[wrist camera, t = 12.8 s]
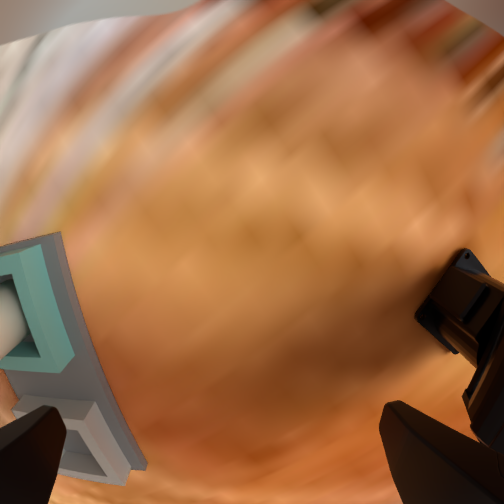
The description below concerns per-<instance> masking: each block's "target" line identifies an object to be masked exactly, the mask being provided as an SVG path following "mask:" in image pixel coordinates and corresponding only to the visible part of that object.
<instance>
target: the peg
mask: <svg viewBox="0 0 504 504" xmlns="http://www.w3.org/2000/svg"><path fill="white" fill-rule="evenodd" d="M29 334H31V331H30V329H29V326H28V323H27V320H26V318H25V315H24V312H23V309H22V306H21V303H20V300H19V296H18V293H17V290H16V287H15V283H14V280H13V279H8V280H6V281H4V282H2V283H0V360H1V359H2V358H3V357H5V356H6V355H7V354H8V353H9V352H10V351H11V350H12V349H13V348H15V347H16V346H17V345H18V344H19V343H20V342H21V341H23V340H24V339H25V338H26V337H27V336H28V335H29Z"/></svg>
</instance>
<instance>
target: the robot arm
mask: <svg viewBox="0 0 504 504" xmlns="http://www.w3.org/2000/svg"><path fill="white" fill-rule="evenodd" d="M466 253H467V256H466V257H465V254H466ZM422 314H423V316H422V317H421V318H420V316H421V315H422ZM415 319H416V321H417V322H418V323H420V324H421V325H422V326H423V327H424V328H425V329H426V330H428V331H429V332H430V333H431V334H432V335H433V336H434V337H435V338H437V339H438V340H439V341H440V342H441V343H442V344H443V345H444V346H445V347H447V348H448V349H449V350H450V351H451V352H452V353H453V354H458V353H460V354H462V355H463V356H464V357H465V358H466V359H467V360H468V361H469V362H470V363H471V364H472V365H473V366H474V367H475V368H476V371H475V373H474V375H473V377H472V380H471V382H470V384H469V386H468V388H467V389H465V391H464V393H463V395H462V398H463V401H464V404H465V406H466V409H467V412H468V415H469V418H470V421H471V424H470V428H471V430H472V432H473V433H474V434H475V436H476V437H477V439H478V441H479V442H480V443H479V442H477V441H475V440H473V439H471V438H469V437H467V436H465V435H463V434H461V433H459V432H458V431H456V430H454V429H452V428H450V427H448V426H446V425H444V424H442V423H441V422H439V421H437V420H435V419H433V418H431V417H430V416H428V415H426V414H424V413H422V412H420V411H419V410H417V409H415V408H413V407H411V406H410V405H408V404H406V403H404V402H402V401H400V400H397V401H392V402H388V403H386V404H385V406H384V408H383V412H382V416H381V420H380V423H379V432H380V435H381V439H382V442H383V446H384V449H385V453H386V457H387V460H388V464H389V468H390V471H391V475H392V477H393V480H394V483H395V485H396V487H397V490H398V492H399V495H400V497H401V500H402V502H403V504H504V284H503V283H501V282H499V281H498V280H496V279H494V278H492V277H491V276H490V275H489V274H488V272H487V271H486V270H485V268H484V267H483V266H482V264H481V263H480V262H479V260H478V259H477V258H476V256H475V255H474V254H473V253H472V251H471V250H469V249H467V248H464V249H462V250H461V251H460V253H459V254H458V256H457V257H456V259H455V260H454V262H453V263H452V265H451V266H450V267H449V269H448V270H447V272H446V273H445V275H444V276H443V277H442V279H441V280H440V281H439V283H438V284H437V285H436V287H435V288H434V289H433V291H432V292H431V293H430V295H429V296H428V297H427V299H426V300H425V301H424V303H423V304H422V305H421V306H420V308H419V309H418V310H417V311H416V313H415ZM66 435H67V429H66V426H65V424H64V421H63V419H62V417H61V415H60V413H59V411H58V409H57V408H56V407H54V406H49V405H42V406H40V407H38V408H37V409H35V410H33V411H31V412H29V413H27V414H26V415H24V416H22V417H20V418H18V419H16V420H14V421H13V422H11V423H9V424H7V425H5V426H3V427H1V428H0V504H48V502H49V498H50V495H51V492H52V489H53V486H54V483H55V480H56V477H57V473H58V469H59V465H60V460H61V456H62V452H63V448H64V443H65V439H66Z"/></svg>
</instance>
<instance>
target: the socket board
mask: <svg viewBox="0 0 504 504" xmlns="http://www.w3.org/2000/svg"><path fill="white" fill-rule="evenodd" d="M8 279H13V280H14V283H15V287H16V290H17V293H18V296H19V300H20V303H21V306H22V309H23V312H24V315H25V318H26V320H27V323H28V326H29V329H30V331H31V334H29V335H28V336H27V337H26V338H25V339H24V340H23V341H21V342H20V343H19V344H18V345H17V346H16V347H15V348H13V349H12V350H11V351H10V352H9V353H8V354H7V355H6V356H5V357H3V358H2V359H1V360H0V369H4V372H5V374H6V376H7V378H8V380H9V382H10V384H11V386H12V388H13V390H14V392H15V393H16V395H17V397H18V399H19V401H18V402H17V403H16V405H15V406H14V407H13V408H12V409H11V410H12V412H13V414H14V416H15V417H16V419H18V418H20V417H22V416H24V415H26V414H27V413H29V412H31V411H33V410H35V409H37V408H38V407H40V406H42V405H49V406H54V407H56V408H57V409H58V411H59V413H60V415H61V417H62V419H63V421H64V424H65V426H66V429H67V435H66V439H65V443H64V448H63V452H62V456H61V460H60V465H59V469H58V473H57V474H61V475H65V476H69V477H74V478H79V479H84V480H89V481H95V482H100V483H107V484H114V485H121V486H125V484H126V481H127V478H128V475H129V472H130V469H131V470H143V471H146V467H147V464H148V463H147V461H146V459H145V458H144V456H143V454H142V452H141V450H140V449H139V447H138V445H137V443H136V441H135V439H134V437H133V435H132V433H131V431H130V429H129V427H128V425H127V423H126V421H125V419H124V417H123V415H122V413H121V411H120V409H119V407H118V405H117V402H116V400H115V398H114V396H113V394H112V391H111V389H110V387H109V384H108V382H107V380H106V377H105V375H104V372H103V370H102V367H101V365H100V362H99V360H98V357H97V355H96V352H95V349H94V347H93V344H92V341H91V338H90V335H89V333H88V330H87V327H86V324H85V321H84V318H83V315H82V311H81V308H80V305H79V302H78V298H77V295H76V292H75V288H74V285H73V281H72V277H71V274H70V270H69V266H68V262H67V258H66V254H65V249H64V245H63V240H62V236H61V232H57V233H52V234H48V235H44V236H40V237H35V238H31V239H27V240H23V241H19V242H15V243H11V244H8V245H4V246H0V283H2V282H4V281H6V280H8Z"/></svg>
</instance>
